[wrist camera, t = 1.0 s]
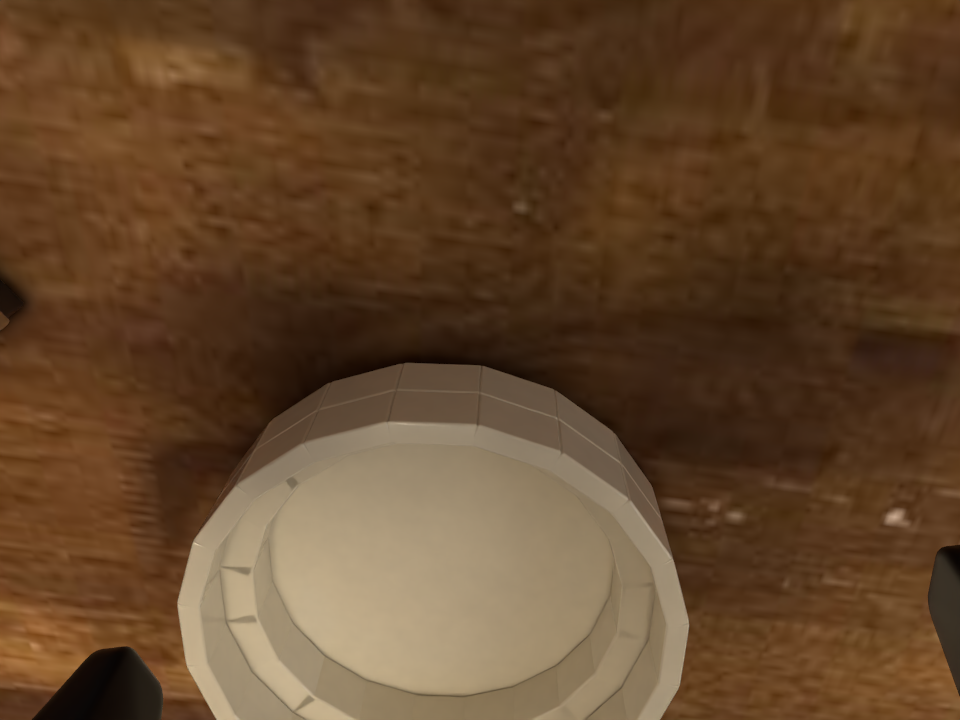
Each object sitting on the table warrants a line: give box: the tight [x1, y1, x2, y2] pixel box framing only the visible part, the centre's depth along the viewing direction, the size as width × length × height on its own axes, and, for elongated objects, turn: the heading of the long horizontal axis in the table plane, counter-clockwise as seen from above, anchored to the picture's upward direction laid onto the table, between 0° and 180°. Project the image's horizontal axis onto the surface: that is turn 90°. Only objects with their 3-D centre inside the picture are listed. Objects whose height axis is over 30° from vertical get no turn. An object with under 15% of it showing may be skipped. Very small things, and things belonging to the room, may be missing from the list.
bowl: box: [177, 363, 689, 720], centre depth 24 cm, size 13×13×4 cm
